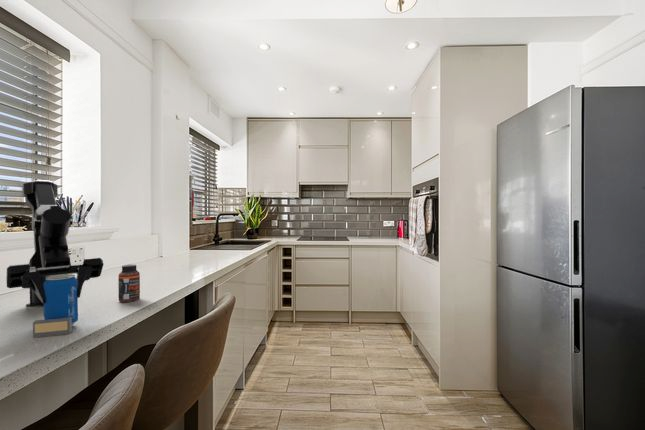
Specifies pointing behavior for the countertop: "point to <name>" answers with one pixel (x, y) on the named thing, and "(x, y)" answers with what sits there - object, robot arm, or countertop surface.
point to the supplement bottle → (129, 284)
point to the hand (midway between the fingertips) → (62, 299)
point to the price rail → (52, 327)
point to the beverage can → (61, 297)
